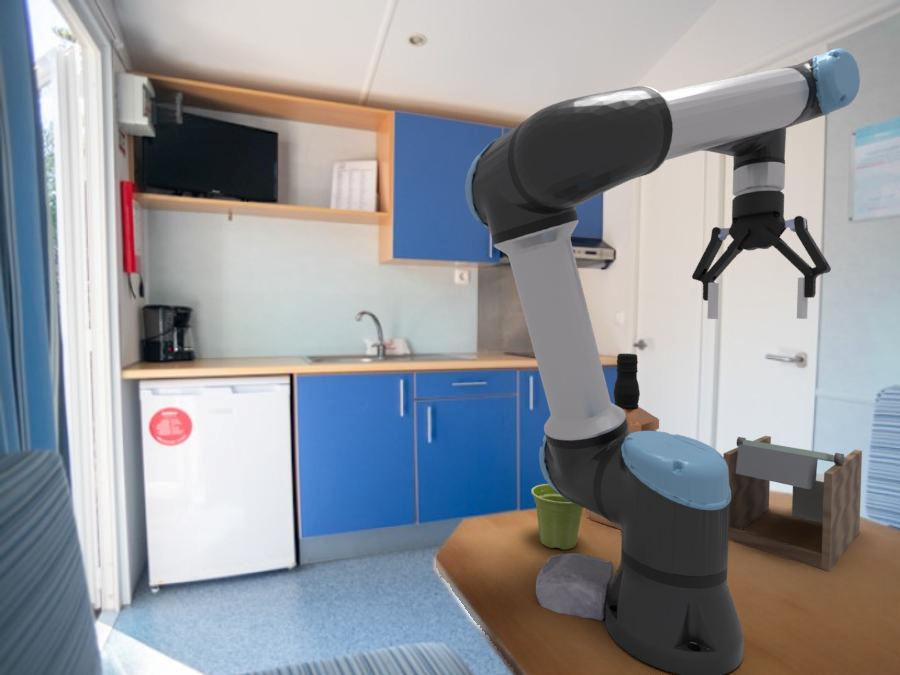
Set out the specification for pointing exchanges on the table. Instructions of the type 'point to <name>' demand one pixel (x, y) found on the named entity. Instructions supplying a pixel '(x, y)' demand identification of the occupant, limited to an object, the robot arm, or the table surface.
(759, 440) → the trapdoor stand
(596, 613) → the stone block
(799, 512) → the grey stone block
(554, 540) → the plant pot
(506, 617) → the table surface
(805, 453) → the trapdoor
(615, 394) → the whiskey bottle
